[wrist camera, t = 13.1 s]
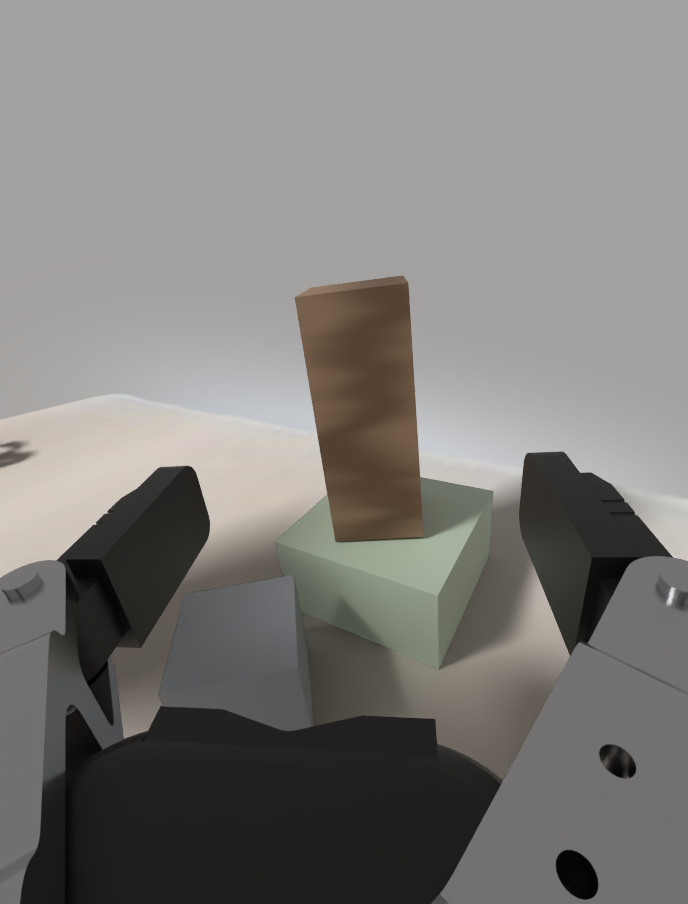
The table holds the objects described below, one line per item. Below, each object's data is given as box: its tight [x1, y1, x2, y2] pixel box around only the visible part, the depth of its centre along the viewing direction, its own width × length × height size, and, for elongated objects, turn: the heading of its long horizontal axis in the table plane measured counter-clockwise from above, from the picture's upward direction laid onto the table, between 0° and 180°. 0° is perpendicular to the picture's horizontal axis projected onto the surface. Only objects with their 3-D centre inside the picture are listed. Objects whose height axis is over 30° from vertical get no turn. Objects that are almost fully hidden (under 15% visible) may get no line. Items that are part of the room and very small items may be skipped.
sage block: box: [275, 477, 493, 670], centre depth 25 cm, size 9×9×5 cm
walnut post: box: [295, 276, 424, 542], centre depth 22 cm, size 4×4×12 cm
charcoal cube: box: [158, 575, 314, 731], centre depth 19 cm, size 5×5×5 cm
